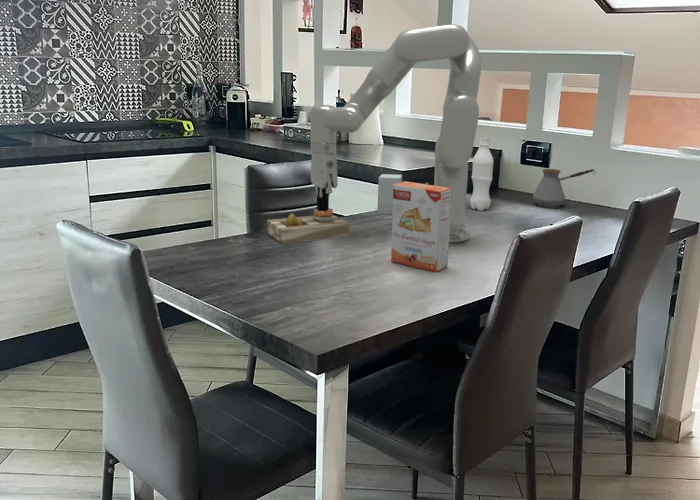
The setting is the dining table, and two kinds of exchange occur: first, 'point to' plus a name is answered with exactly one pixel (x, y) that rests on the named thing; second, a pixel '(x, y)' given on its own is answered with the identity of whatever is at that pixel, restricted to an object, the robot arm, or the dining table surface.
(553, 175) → the coffee pot
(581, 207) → the dining table surface
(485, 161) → the water bottle
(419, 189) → the cracker box
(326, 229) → the mount
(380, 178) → the supplement box
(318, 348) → the dining table surface
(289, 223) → the knob
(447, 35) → the robot arm
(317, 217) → the plunger
